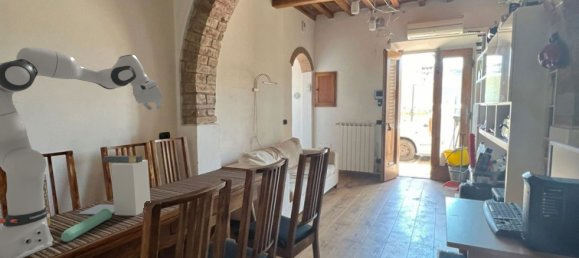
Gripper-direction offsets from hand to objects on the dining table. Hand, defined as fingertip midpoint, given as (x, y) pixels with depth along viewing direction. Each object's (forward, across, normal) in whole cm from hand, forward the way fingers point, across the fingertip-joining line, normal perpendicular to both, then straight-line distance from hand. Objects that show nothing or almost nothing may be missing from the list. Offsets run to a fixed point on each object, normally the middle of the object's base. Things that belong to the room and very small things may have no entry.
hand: (154, 109), depth 160 cm
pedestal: (+42, -7, -34) cm, 55 cm away
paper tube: (+27, -23, -65) cm, 74 cm away
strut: (+18, -9, -24) cm, 32 cm away
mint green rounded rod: (+32, -1, -56) cm, 65 cm away
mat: (+38, -22, -41) cm, 60 cm away
